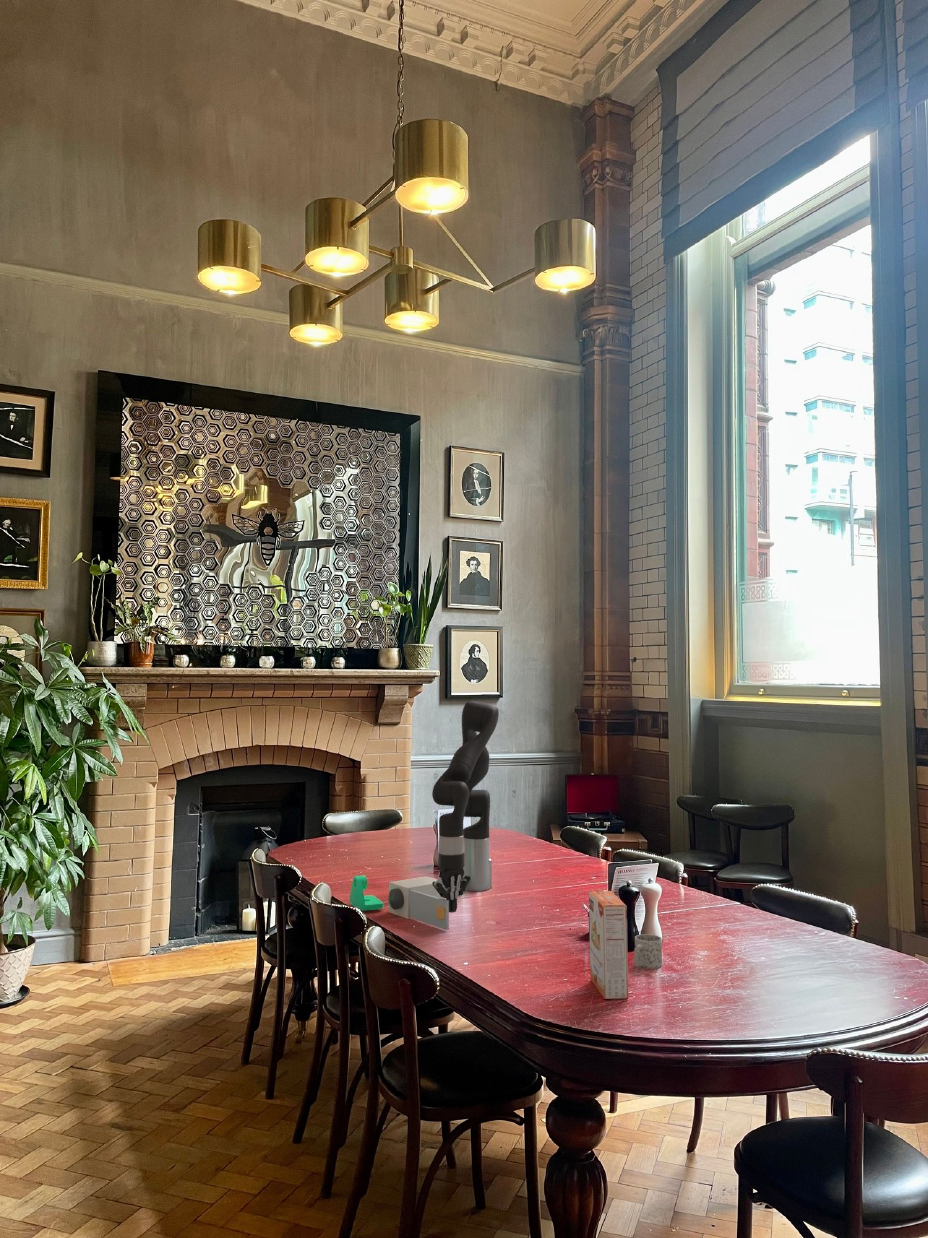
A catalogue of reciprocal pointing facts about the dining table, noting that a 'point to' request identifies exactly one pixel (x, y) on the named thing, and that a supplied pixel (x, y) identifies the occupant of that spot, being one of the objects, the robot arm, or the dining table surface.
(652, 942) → the mug
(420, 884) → the camera housing
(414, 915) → the side door
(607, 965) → the cracker box
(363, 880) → the camera mount
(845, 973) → the dining table surface
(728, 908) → the dining table surface
